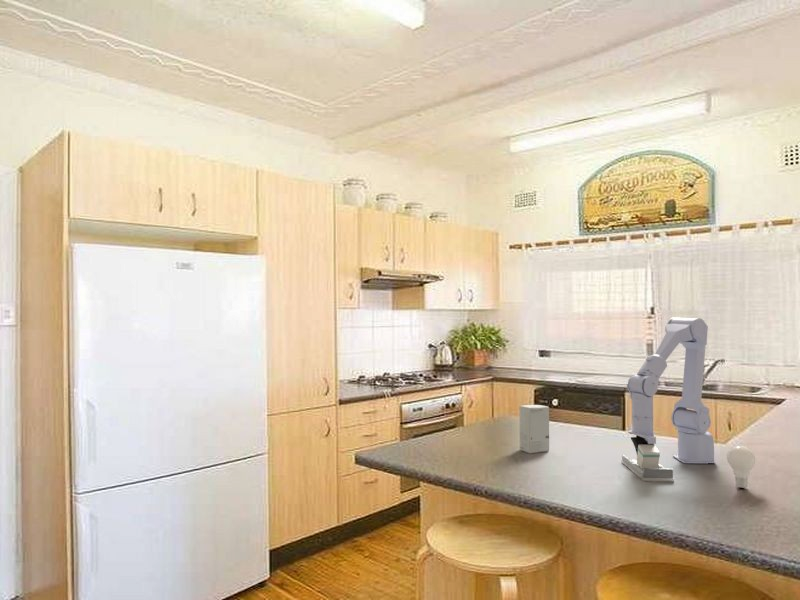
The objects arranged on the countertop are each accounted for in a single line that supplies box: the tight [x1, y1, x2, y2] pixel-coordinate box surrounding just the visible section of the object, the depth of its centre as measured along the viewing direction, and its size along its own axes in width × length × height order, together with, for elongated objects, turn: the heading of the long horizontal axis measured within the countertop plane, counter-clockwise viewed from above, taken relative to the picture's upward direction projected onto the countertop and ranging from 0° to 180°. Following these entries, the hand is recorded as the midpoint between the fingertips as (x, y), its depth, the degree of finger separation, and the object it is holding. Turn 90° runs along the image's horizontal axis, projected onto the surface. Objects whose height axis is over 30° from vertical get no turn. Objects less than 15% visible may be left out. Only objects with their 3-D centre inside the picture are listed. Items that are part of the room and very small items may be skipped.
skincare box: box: [518, 404, 550, 454], centre depth 182 cm, size 8×6×15 cm
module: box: [636, 444, 661, 469], centre depth 157 cm, size 5×4×6 cm
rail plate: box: [621, 454, 675, 482], centre depth 158 cm, size 8×18×3 cm, turn 176°
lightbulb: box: [726, 445, 757, 489], centre depth 143 cm, size 6×6×11 cm
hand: (642, 462), depth 160 cm, fingers closed
